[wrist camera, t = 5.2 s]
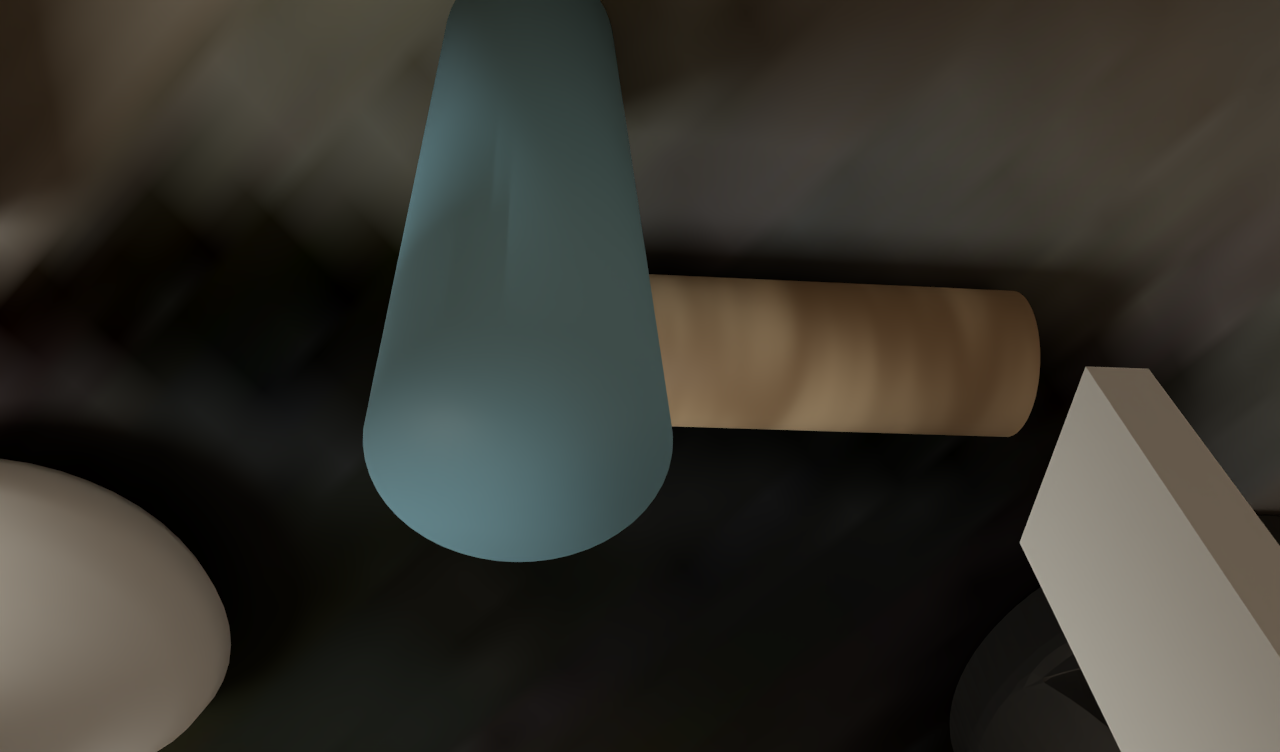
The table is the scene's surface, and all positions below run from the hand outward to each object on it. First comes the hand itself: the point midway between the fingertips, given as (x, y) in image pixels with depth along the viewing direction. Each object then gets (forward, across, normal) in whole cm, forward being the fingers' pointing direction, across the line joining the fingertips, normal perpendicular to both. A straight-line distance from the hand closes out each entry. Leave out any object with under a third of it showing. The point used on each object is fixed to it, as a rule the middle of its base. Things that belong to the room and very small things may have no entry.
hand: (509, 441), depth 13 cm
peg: (+14, 0, 0) cm, 14 cm away
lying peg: (+12, -6, +9) cm, 16 cm away
